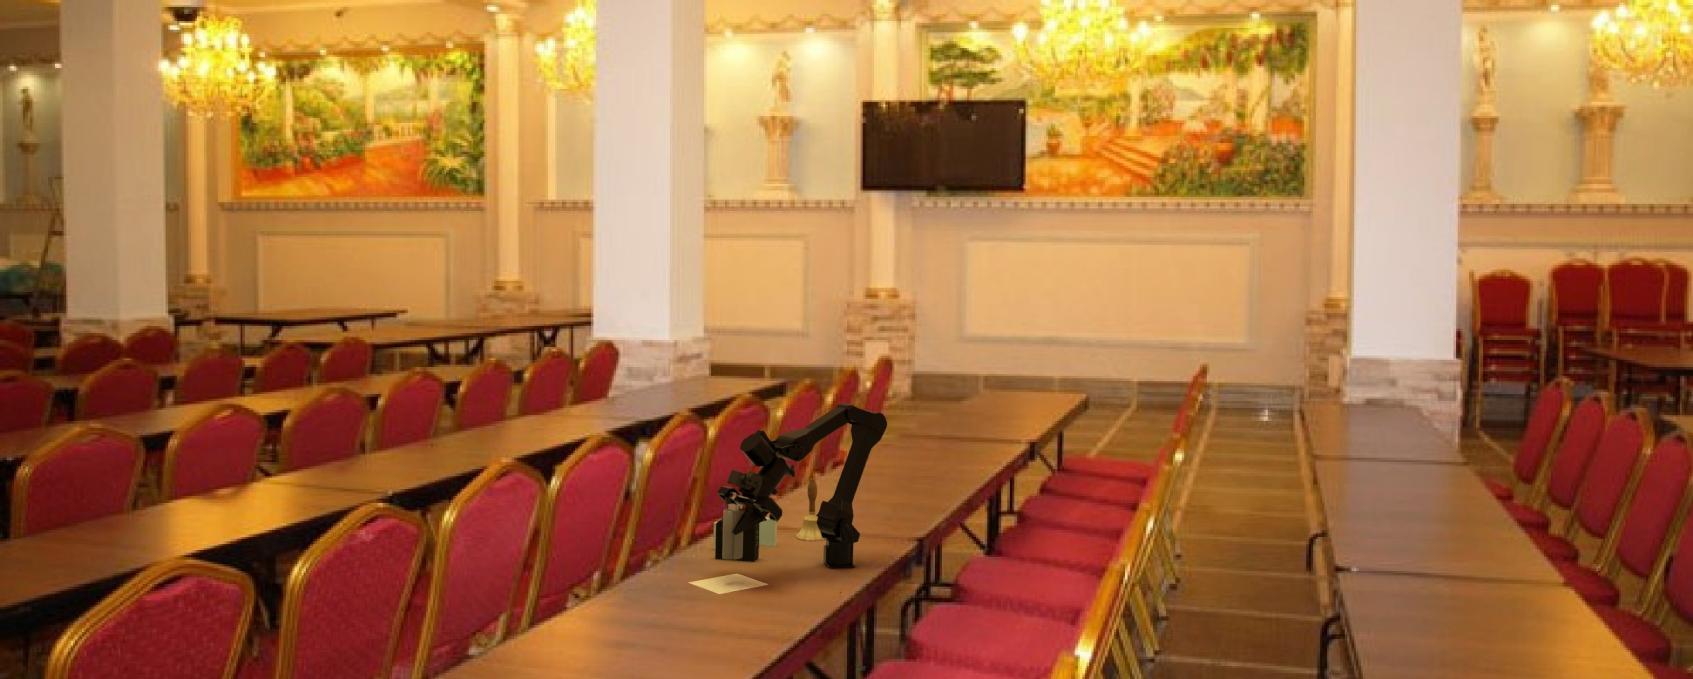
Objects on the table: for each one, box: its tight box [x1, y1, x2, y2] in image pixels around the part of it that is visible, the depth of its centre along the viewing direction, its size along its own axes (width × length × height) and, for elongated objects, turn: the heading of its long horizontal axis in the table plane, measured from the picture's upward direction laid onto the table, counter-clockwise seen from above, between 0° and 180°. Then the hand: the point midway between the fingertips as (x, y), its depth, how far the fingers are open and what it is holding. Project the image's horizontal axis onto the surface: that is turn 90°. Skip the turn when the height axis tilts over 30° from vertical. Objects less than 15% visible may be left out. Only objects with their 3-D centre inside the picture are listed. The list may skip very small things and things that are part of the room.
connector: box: [722, 504, 745, 561], centre depth 308 cm, size 5×4×12 cm
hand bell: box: [795, 477, 826, 542], centre depth 359 cm, size 8×8×16 cm
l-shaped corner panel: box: [712, 517, 778, 551], centre depth 345 cm, size 12×12×8 cm
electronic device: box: [714, 517, 760, 563], centre depth 332 cm, size 4×10×10 cm, turn 78°
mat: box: [688, 573, 770, 595], centre depth 308 cm, size 14×12×1 cm
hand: (728, 531), depth 307 cm, fingers closed on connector, 4 cm apart
